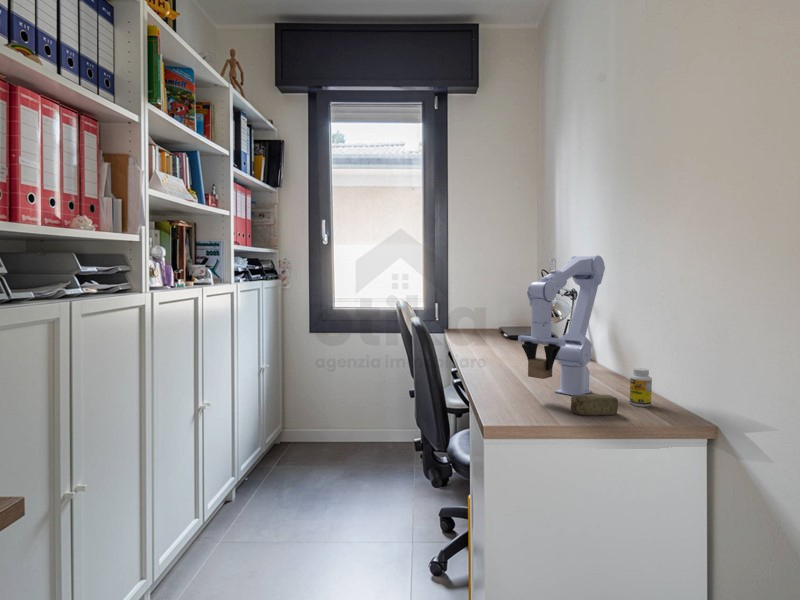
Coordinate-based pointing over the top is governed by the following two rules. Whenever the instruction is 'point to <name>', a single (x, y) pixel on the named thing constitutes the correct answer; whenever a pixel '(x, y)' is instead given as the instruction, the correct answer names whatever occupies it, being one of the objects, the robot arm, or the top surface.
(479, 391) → the top surface
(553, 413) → the top surface
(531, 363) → the walnut cube
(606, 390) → the top surface
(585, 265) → the robot arm
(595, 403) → the stone block
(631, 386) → the supplement bottle
